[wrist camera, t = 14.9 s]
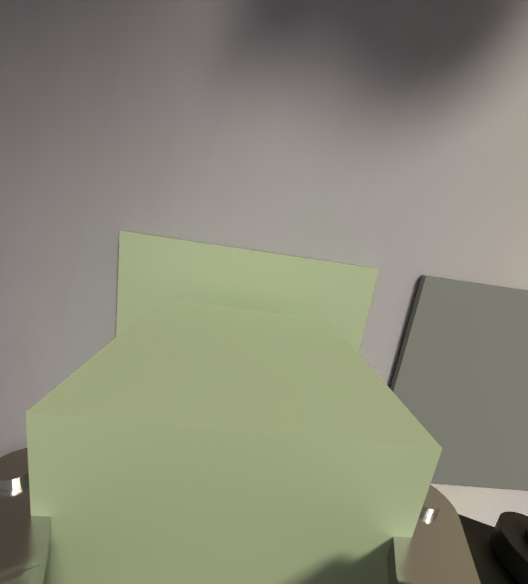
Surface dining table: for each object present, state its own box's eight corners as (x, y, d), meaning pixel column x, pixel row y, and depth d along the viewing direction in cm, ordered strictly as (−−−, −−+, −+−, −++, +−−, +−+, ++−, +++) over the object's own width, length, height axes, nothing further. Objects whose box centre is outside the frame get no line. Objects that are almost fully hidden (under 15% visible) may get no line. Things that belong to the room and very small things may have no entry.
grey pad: (421, 275, 11) (426, 276, 11) (631, 305, 12) (640, 308, 12) (366, 473, 14) (369, 478, 13) (547, 487, 14) (553, 492, 14)
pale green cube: (162, 298, 10) (24, 413, 4) (329, 319, 10) (442, 448, 4) (152, 444, 11) (40, 698, 5) (301, 456, 11) (356, 698, 6)
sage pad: (123, 230, 10) (119, 231, 10) (375, 268, 11) (379, 269, 11) (115, 453, 13) (111, 458, 12) (326, 469, 13) (328, 475, 13)
